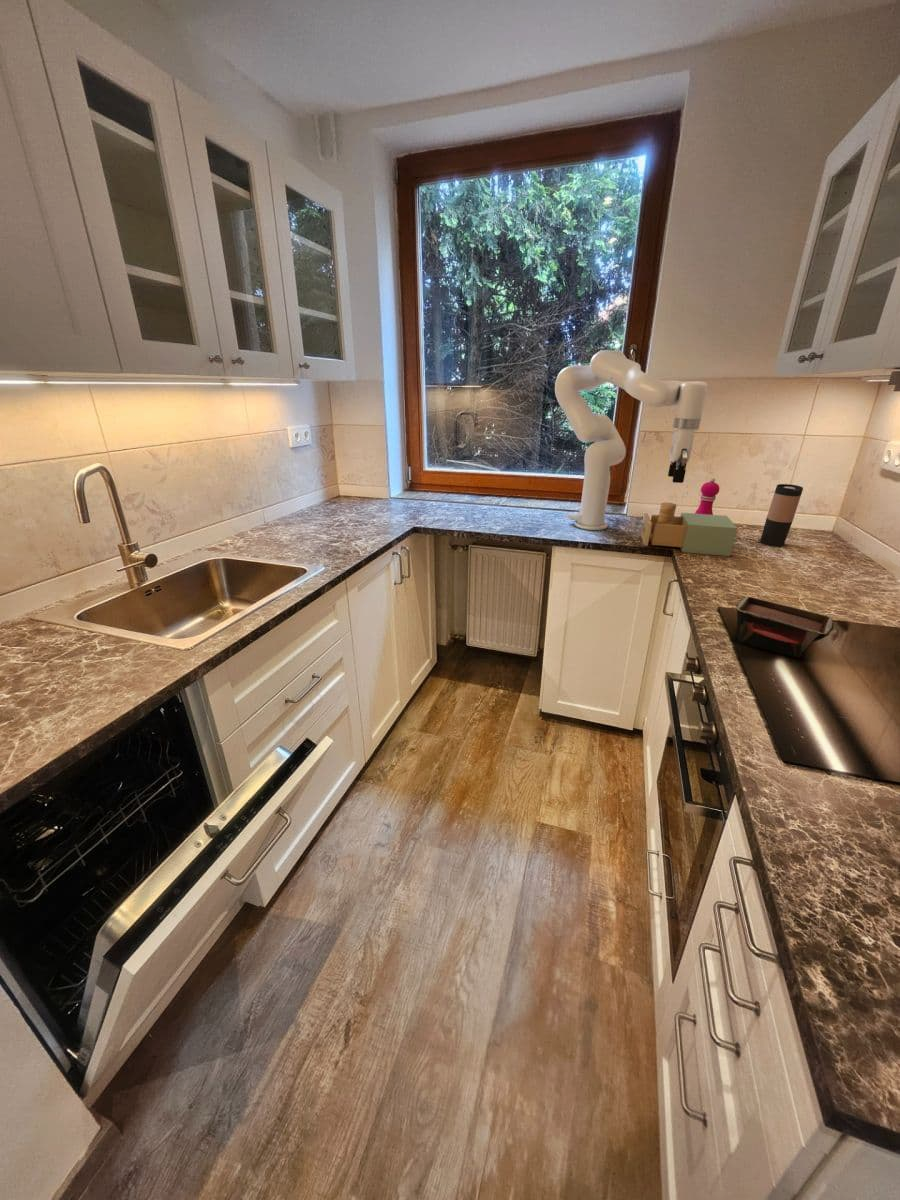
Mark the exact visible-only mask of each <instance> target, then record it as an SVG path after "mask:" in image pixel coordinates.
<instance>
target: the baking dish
mask: <svg viewBox="0 0 900 1200" xmlns="http://www.w3.org/2000/svg"><path fill="white" fill-rule="evenodd" d="M736 626H737V627H736V628H737V629H736V632H737V633H736V634H737V642H738V643H741V644H745V645H747V646H751V647H754V648H758V649H762V650H765V651H770V652H774V653H777V654H781V655H785V656H788V657H793V658H797V659H801V658H802V653H803V652H804V651H805V650H806V649H807V648H808V647H809V645H811V644H812V643H815V642H817V641H820V640H823V639H824V638H826V637H828V636H829V635H830V634H831V633H832V631H833V630H834V627H835V623H834V619H833V617H831V615H827V614H822V613H819V612H814V611H810V610H807V609H802V608H800V607H799V608H798V607H794V606H790V605H786V604H782V603H778V602H774V601H770V600H766V599H763V598H758V597H754V596H745V597H743V598H741V599H740V600H739V601H738V603H737V604H736ZM800 656H801V657H800Z"/></svg>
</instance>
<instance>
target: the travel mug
mask: <svg viewBox="0 0 900 1200" xmlns="http://www.w3.org/2000/svg"><path fill="white" fill-rule="evenodd" d="M803 490H804V487H803V486H800V485H797V484H790V483H789V484H787V483H779V484H778V483H777V485H776V487H775V490H774V493H773V495H772V496H773V497H772V499H771V503H770V505H769V509H768V512H767V515H766V518H765V522H764V526H763V529H762V533H761V537H760V543H761V544H763V545H765V546H766V545H767V546H770V547H783V546H784V545H785V543H786V541H787V538H788V535H789V533H790V529H791V527H792V524H793V522H794V519H795V515H796V512H797V510H798V507H799V503H800V500H801V497H802V494H803V492H804V491H803Z"/></svg>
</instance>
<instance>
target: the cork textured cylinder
mask: <svg viewBox="0 0 900 1200" xmlns="http://www.w3.org/2000/svg"><path fill="white" fill-rule="evenodd" d="M676 509H677V504H676V503H672V502H661V504H660V508H659V513H658V515H659V517H658V522H657V524H668V525H672V524H673V519H674V516H675V515H676Z"/></svg>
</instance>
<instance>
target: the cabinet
mask: <svg viewBox="0 0 900 1200" xmlns="http://www.w3.org/2000/svg"><path fill="white" fill-rule="evenodd" d="M679 517H682V518H683V519H684V521H685V523H686V524H687V526H688V527H687V531H686V535H685V540H684V544H683V547H679V548H680V551H681V552H682V553H689V554H702V555H713V556H722V557H723V556H724V557H730V556H731V554H732V551H733V548H734V544H735V539H736V536H737V533H738V526H737V525H736V524H735V523H734V522H733V521H732V520H731V519H730V518H729V516H728V515H722V514H713V515H708V514H694V513H693V512H691V513H690V512H680V516H679Z"/></svg>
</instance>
